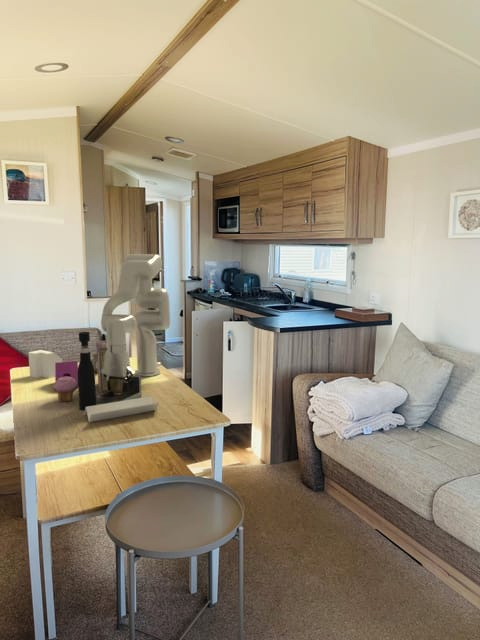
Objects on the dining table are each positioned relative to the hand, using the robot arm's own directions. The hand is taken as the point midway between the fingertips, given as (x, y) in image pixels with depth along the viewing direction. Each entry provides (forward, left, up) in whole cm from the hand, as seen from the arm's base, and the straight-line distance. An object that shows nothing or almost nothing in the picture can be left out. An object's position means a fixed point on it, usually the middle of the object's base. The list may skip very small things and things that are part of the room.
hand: (118, 390), depth 198 cm
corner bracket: (-19, -56, -4) cm, 59 cm away
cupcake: (+8, -20, -4) cm, 22 cm away
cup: (0, 0, -2) cm, 2 cm away
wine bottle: (+13, -5, -4) cm, 15 cm away
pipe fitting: (-36, -38, -4) cm, 52 cm away
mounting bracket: (-8, -33, -5) cm, 34 cm away
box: (-13, -14, -4) cm, 19 cm away
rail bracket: (0, 0, -4) cm, 4 cm away
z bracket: (+14, +11, -5) cm, 18 cm away
